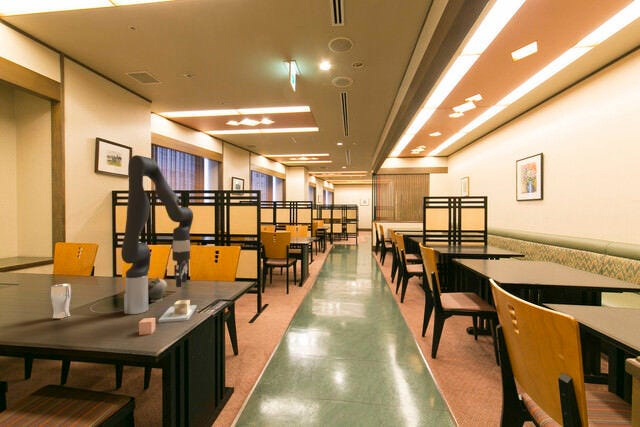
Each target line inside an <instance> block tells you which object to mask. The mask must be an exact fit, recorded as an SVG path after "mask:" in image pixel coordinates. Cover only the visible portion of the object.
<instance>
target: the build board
mask: <svg viewBox="0 0 640 427" xmlns="http://www.w3.org/2000/svg"><path fill="white" fill-rule="evenodd" d="M196 308H197V304H193V305H191V304H190V311H189V312H188V314H183V315H174V305H173V306H170V307H169V308H168V309H167V310H166V311H165V312H164V313H163V314H162V316H160V317H159V319H158V321H157V322H158V323H172V322H183V321H188V320H189V319H190V318H191V316H192V315H193V313H194V312H195V310H196Z"/></svg>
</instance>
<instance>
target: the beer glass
mask: <svg viewBox="0 0 640 427" xmlns="http://www.w3.org/2000/svg"><path fill="white" fill-rule="evenodd" d="M71 297H72V287H71V283H59V284H54V285H51V289H50V300H51V305H52V308H53V316H52V319H53V318H64V317H67V316H70V317H71V314H70V303H71V299H72V298H71Z"/></svg>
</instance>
